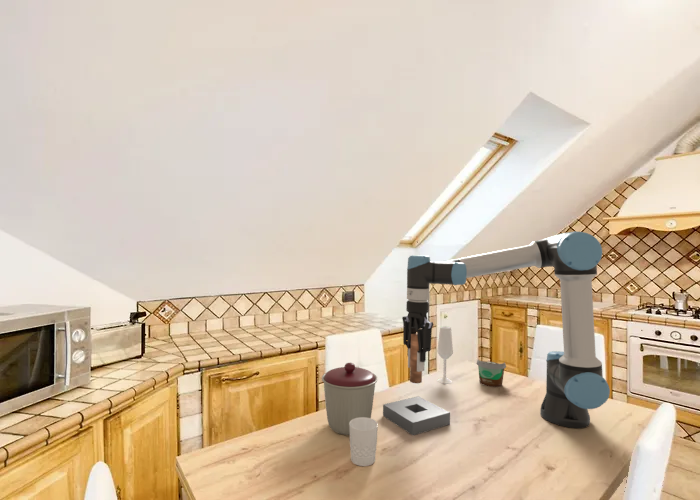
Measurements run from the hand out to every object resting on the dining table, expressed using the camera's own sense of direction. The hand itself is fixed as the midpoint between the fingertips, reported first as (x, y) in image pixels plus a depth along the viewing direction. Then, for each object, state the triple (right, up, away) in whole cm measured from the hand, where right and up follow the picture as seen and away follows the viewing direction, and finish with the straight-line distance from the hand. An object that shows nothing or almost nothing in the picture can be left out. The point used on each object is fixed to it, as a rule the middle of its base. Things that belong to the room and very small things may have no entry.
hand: (416, 368), depth 130 cm
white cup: (-19, -17, -25) cm, 36 cm away
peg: (0, -4, 0) cm, 4 cm away
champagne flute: (+20, -18, +39) cm, 48 cm away
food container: (+38, -18, +35) cm, 55 cm away
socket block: (0, -18, 0) cm, 18 cm away
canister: (-23, -17, -7) cm, 30 cm away
